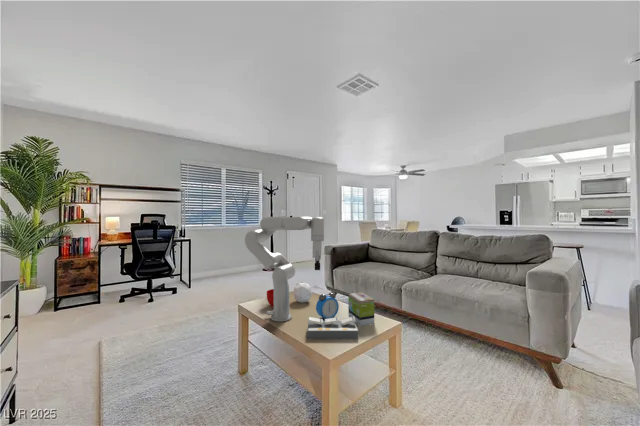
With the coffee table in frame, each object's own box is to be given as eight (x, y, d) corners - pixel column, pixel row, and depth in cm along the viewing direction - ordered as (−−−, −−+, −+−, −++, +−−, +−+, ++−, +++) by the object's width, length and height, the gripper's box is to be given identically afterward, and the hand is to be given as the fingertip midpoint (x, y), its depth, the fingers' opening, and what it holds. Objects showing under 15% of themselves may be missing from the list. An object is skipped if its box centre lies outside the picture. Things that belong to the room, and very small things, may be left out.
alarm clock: (320, 321, 163) (320, 296, 163) (315, 318, 169) (315, 293, 169) (339, 317, 170) (339, 293, 170) (333, 314, 175) (333, 290, 175)
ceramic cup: (277, 300, 204) (277, 286, 204) (288, 306, 190) (288, 291, 190) (260, 303, 196) (260, 289, 196) (271, 310, 183) (271, 295, 183)
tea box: (347, 317, 171) (347, 293, 171) (362, 315, 174) (362, 291, 174) (359, 326, 157) (359, 300, 157) (375, 324, 160) (375, 298, 160)
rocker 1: (308, 322, 147) (308, 319, 147) (308, 319, 151) (309, 316, 151) (322, 324, 147) (322, 322, 147) (322, 321, 151) (322, 319, 151)
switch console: (307, 338, 141) (307, 328, 141) (308, 328, 154) (308, 319, 154) (358, 338, 141) (358, 329, 141) (355, 328, 154) (355, 319, 154)
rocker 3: (342, 325, 147) (341, 323, 147) (341, 322, 152) (341, 320, 152) (355, 321, 147) (355, 318, 147) (354, 318, 152) (354, 315, 152)
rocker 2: (325, 324, 147) (325, 322, 147) (325, 321, 151) (324, 318, 151) (339, 322, 147) (338, 319, 147) (338, 319, 152) (338, 316, 152)
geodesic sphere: (292, 298, 189) (304, 280, 193) (284, 293, 201) (295, 276, 205) (308, 308, 194) (319, 291, 199) (299, 303, 207) (310, 286, 211)
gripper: (311, 237, 169) (311, 267, 169) (310, 239, 154) (310, 272, 154) (323, 237, 169) (323, 267, 169) (324, 239, 154) (324, 272, 154)
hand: (317, 269), depth 161 cm, fingers closed
